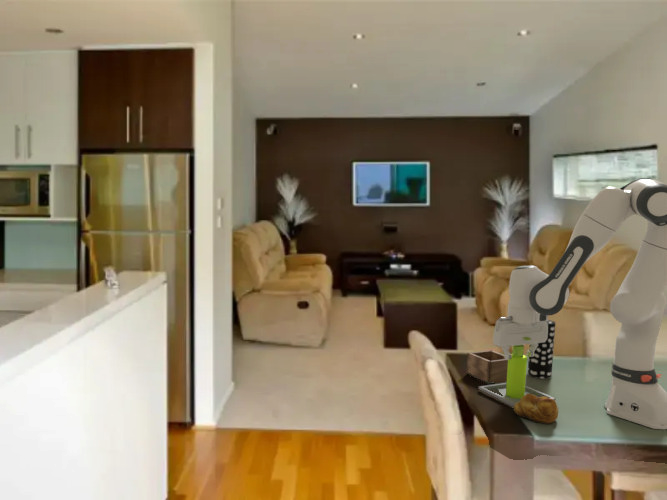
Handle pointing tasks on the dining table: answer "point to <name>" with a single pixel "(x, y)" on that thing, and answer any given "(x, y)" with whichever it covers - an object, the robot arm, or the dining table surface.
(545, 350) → the white-spotted black cylinder
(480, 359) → the walnut box
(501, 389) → the grey tray
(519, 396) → the soap dispenser
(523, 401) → the bread roll
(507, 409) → the dining table surface
